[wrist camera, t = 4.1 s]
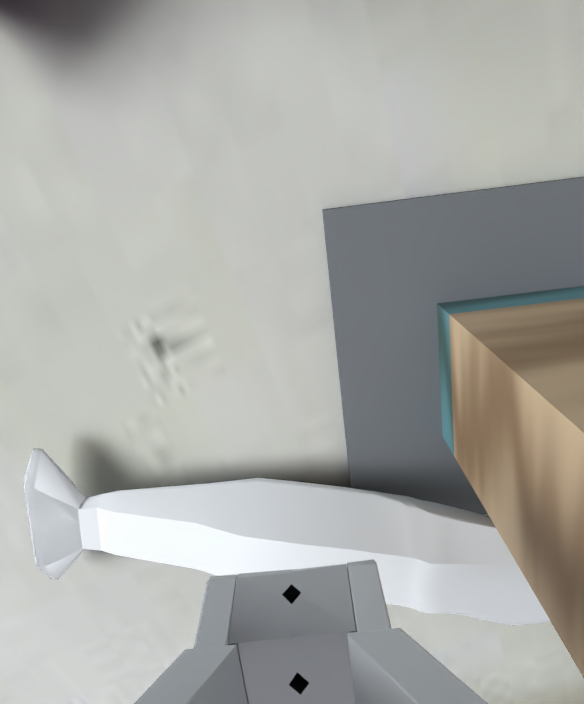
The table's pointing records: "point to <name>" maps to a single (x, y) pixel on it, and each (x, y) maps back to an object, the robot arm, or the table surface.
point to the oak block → (524, 434)
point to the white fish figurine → (287, 537)
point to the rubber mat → (431, 313)
